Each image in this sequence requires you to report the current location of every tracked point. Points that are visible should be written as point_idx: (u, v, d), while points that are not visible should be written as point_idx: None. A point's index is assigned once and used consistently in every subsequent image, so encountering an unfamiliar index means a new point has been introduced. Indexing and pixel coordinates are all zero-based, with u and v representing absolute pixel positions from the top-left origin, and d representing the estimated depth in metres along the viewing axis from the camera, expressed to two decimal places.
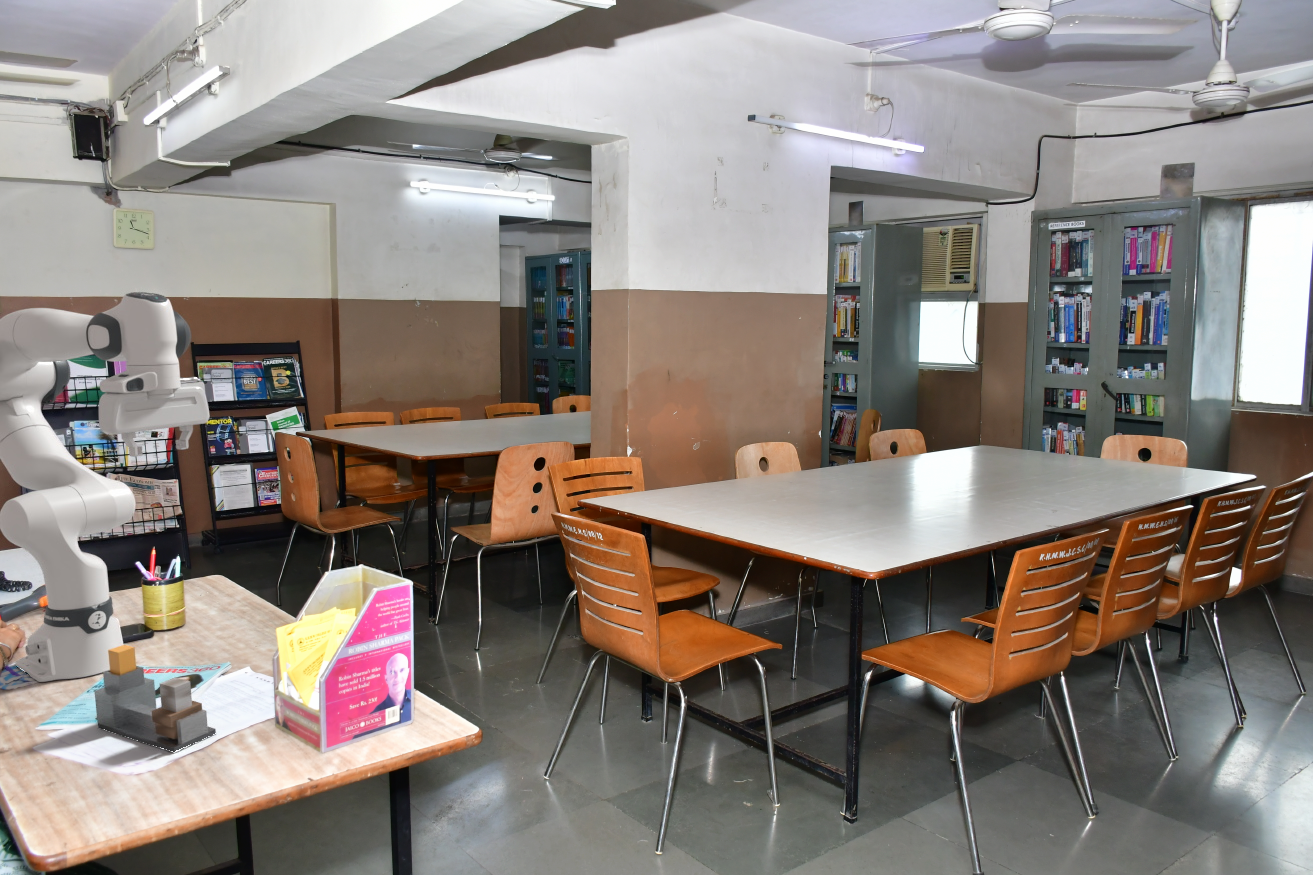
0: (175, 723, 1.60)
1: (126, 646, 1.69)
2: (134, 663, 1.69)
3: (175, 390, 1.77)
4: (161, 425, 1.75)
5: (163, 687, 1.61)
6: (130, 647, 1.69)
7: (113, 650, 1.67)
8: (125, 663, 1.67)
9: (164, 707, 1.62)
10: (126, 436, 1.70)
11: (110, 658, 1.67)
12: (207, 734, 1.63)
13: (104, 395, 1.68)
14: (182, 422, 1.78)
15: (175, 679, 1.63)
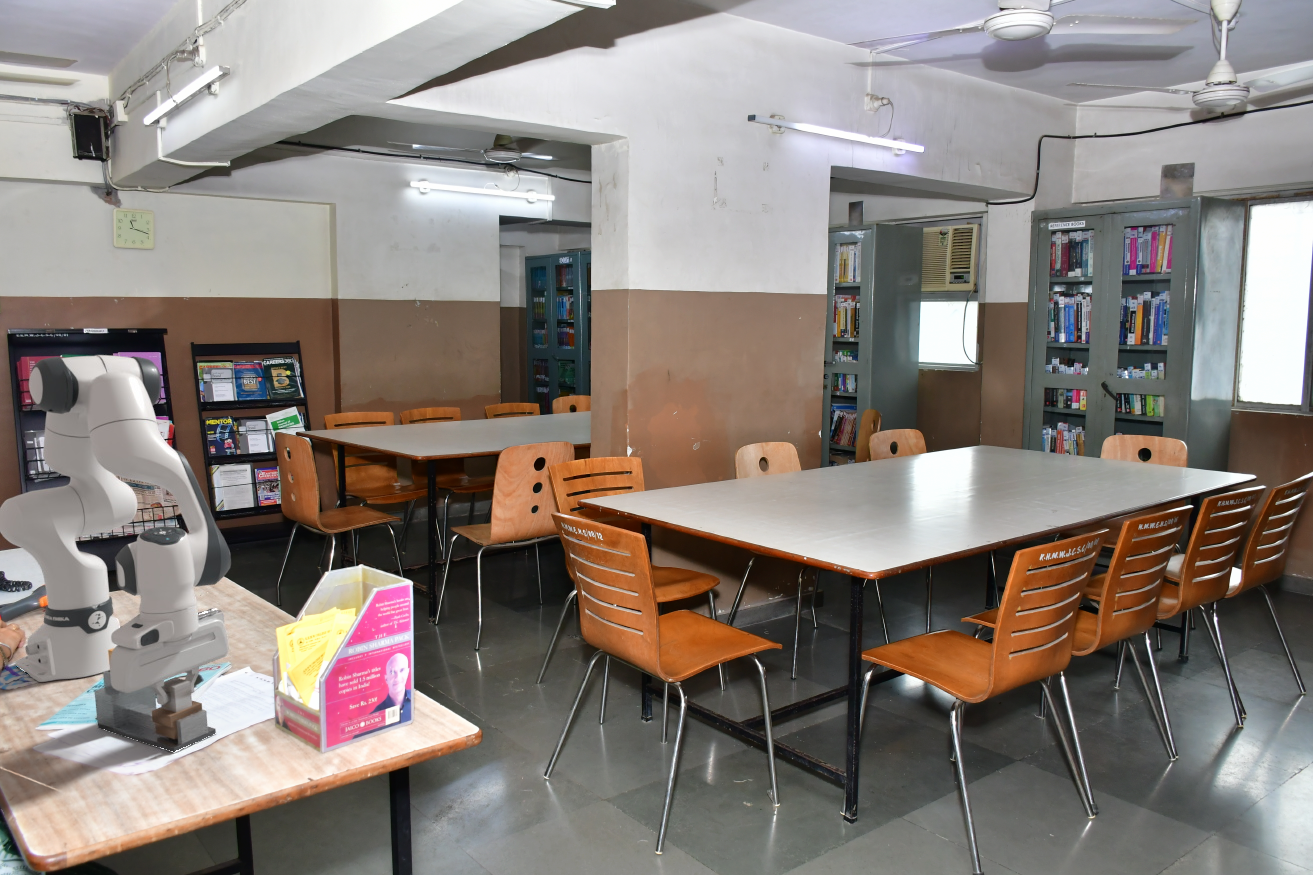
0: (175, 723, 1.60)
1: None
2: None
3: None
4: (178, 671, 1.60)
5: (163, 687, 1.61)
6: None
7: None
8: None
9: (164, 707, 1.62)
10: (154, 685, 1.58)
11: (110, 658, 1.67)
12: (207, 734, 1.63)
13: (116, 649, 1.54)
14: (200, 662, 1.64)
15: (175, 679, 1.63)
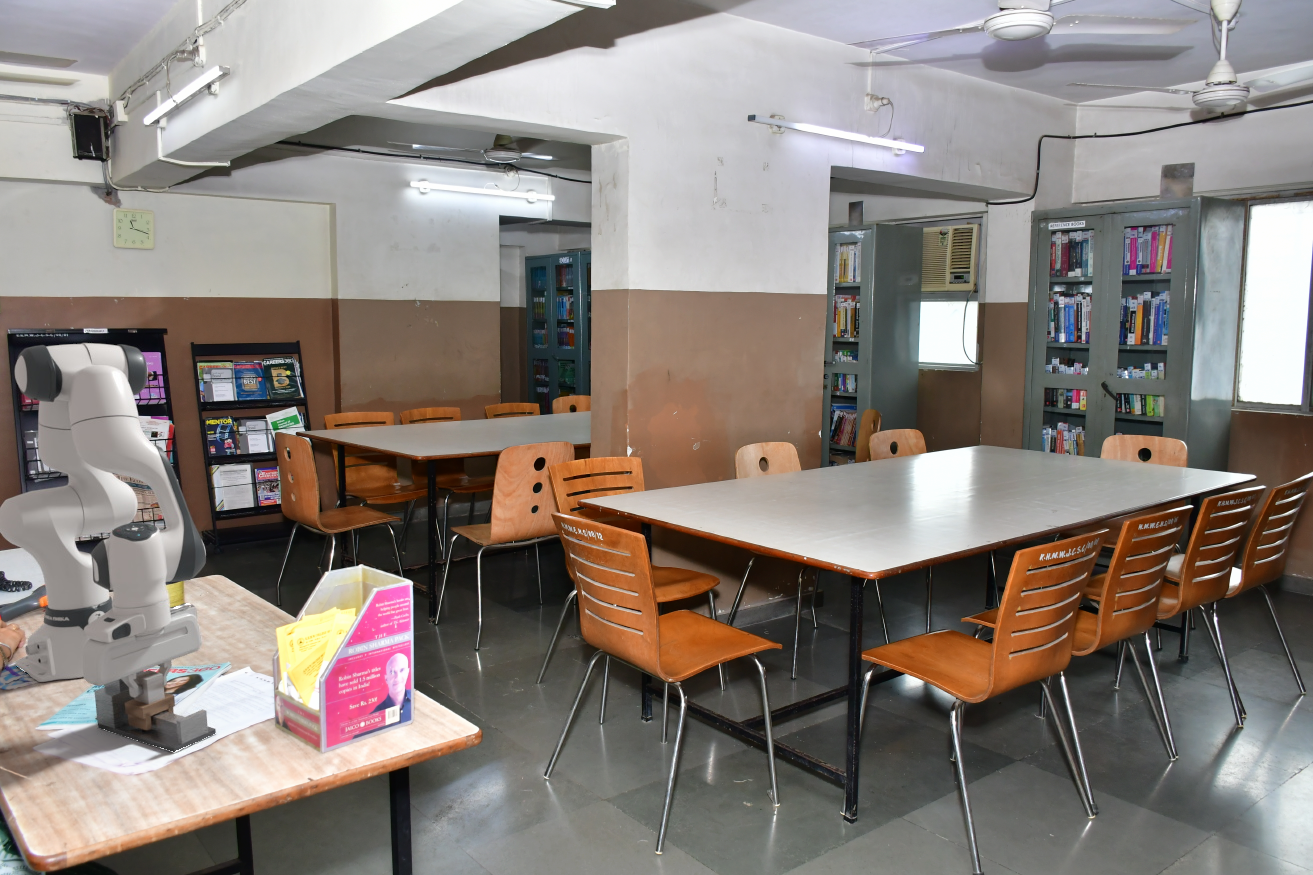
0: (147, 715, 1.63)
1: None
2: None
3: None
4: (150, 664, 1.64)
5: (136, 679, 1.64)
6: None
7: None
8: None
9: (137, 699, 1.65)
10: (126, 678, 1.61)
11: None
12: (207, 734, 1.63)
13: (88, 642, 1.57)
14: (172, 656, 1.68)
15: (148, 672, 1.66)
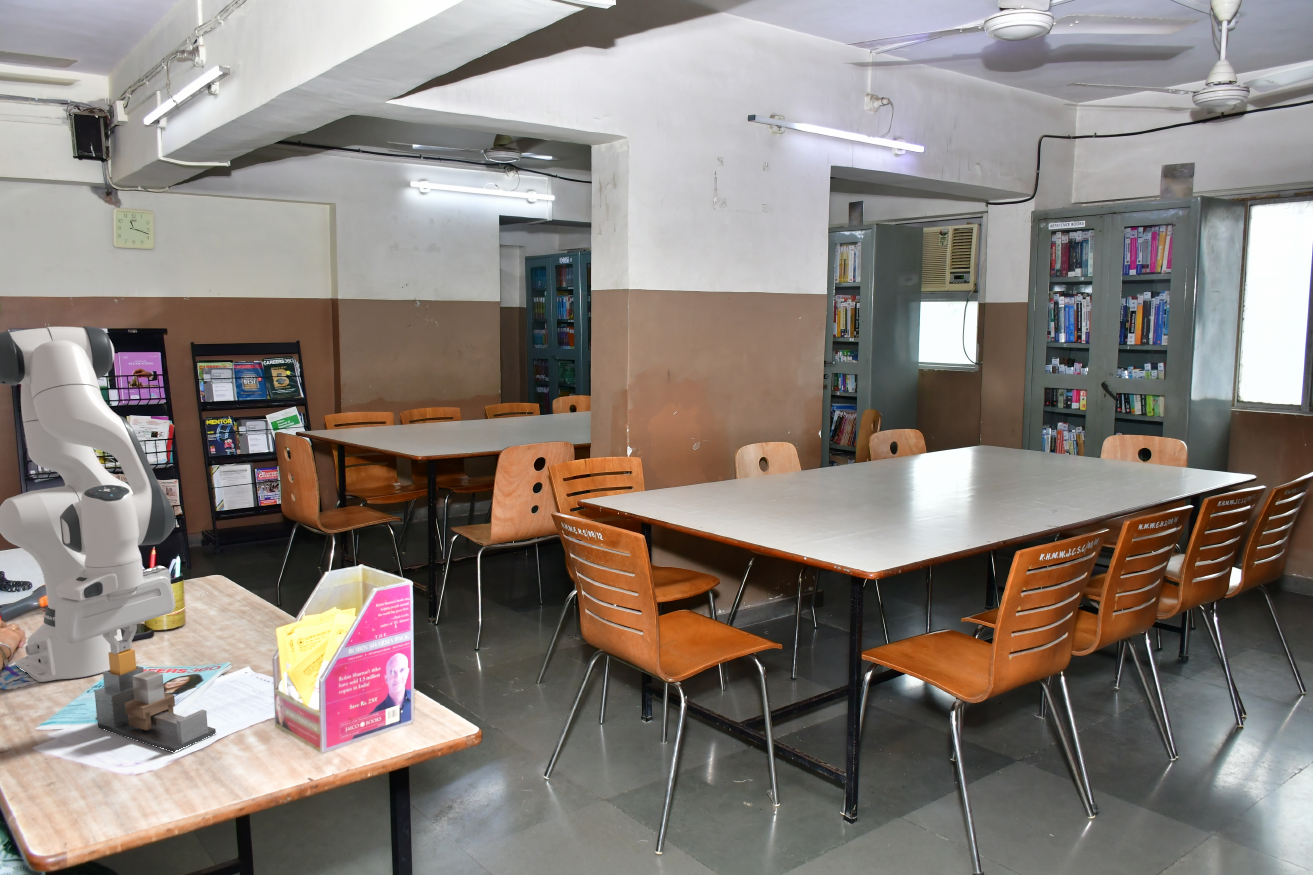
0: (147, 715, 1.63)
1: None
2: (134, 666, 1.69)
3: (138, 585, 1.68)
4: (122, 624, 1.66)
5: (136, 679, 1.64)
6: (130, 650, 1.69)
7: None
8: (125, 666, 1.67)
9: (137, 699, 1.65)
10: (107, 634, 1.65)
11: (110, 660, 1.67)
12: (207, 734, 1.63)
13: (61, 601, 1.59)
14: (145, 617, 1.70)
15: (148, 672, 1.66)
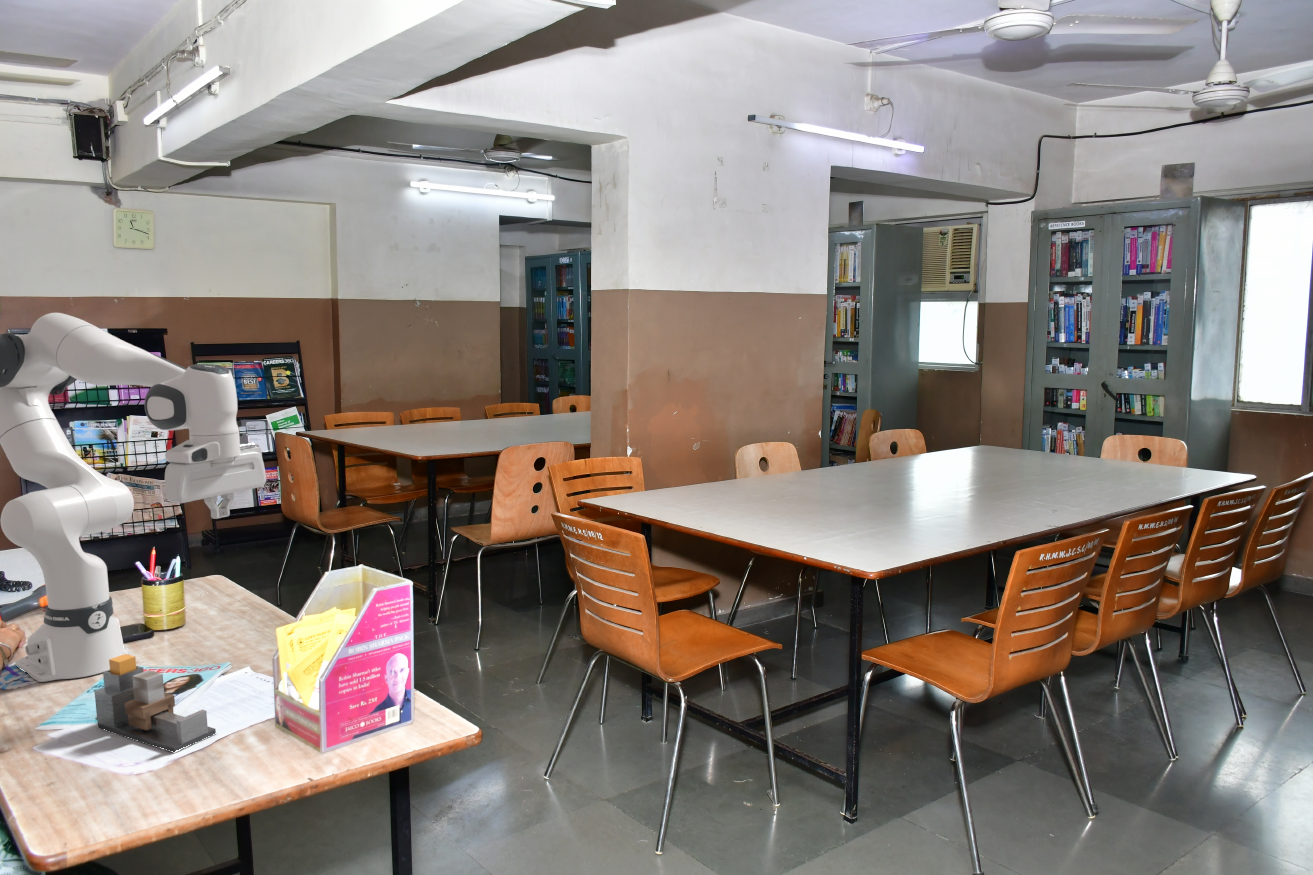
0: (147, 715, 1.63)
1: (127, 655, 1.69)
2: None
3: (235, 457, 1.83)
4: (222, 491, 1.81)
5: (136, 679, 1.64)
6: (131, 656, 1.69)
7: (114, 660, 1.67)
8: (126, 672, 1.68)
9: (137, 699, 1.65)
10: (209, 500, 1.80)
11: (111, 667, 1.68)
12: (207, 734, 1.63)
13: (170, 465, 1.74)
14: (241, 487, 1.85)
15: (148, 672, 1.66)
